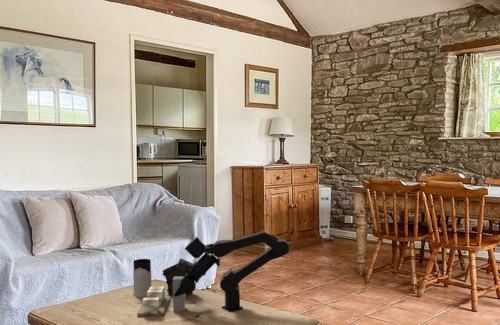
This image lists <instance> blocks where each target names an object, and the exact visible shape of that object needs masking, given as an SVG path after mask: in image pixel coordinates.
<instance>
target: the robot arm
mask: <svg viewBox="0 0 500 325" xmlns="http://www.w3.org/2000/svg"><path fill="white" fill-rule="evenodd" d="M260 243H263V244H265V245H267V246H268V248H267V249H266V250H265V251H263V252H262V253H261V254H259V255H258V256H256V257H255V258H253V259H251V260H250V261H249V262H247V263H245V264H244V265H242V266H241V267H239V268H238V269H233V268H229V269H228V270H227V271H225V272H223V273H222V276H221V277H220V281H219V287H220V289H221V290H222V291H223V292H224V305H222V306H221V309H224V310H226V311H228V312H234V311H235V312H236V311H239V310H242V309H244V306H242V305H241V300H240V299H241V297H240V296H241V295H240V285H239V284H240V283H241V281H242V280H243V279H245V278H247V276H249V275H251V274H252V273H254V272H255V271H257V270H258V269H260V268H261V267H262V266H264V265H266V264H267V263H269V262H270V261H272V260H275V259H280V258H282V257H283V256H286V255H287V254H288V253H289V252H290V245H289V244H288V242H287V241H286V239H284V238H281V237H280V238H278V237H277V236H274V235H272V234H270V233H268V232H267V231H265V230H261V231H259V232H256V233H253V234H249V235H246V236H245V235H244V236H241V237H238V238H235V239H234V238H233V239H220V240H216V241H214V243H208V244H204V243H203V242H202V240H200V238H199V237H198V236H195V238H193V240H191V241H190V242H189V243H188V244H187V245H186V246H185V247H184V250H185V251H186V252H187V253H188V254H189V255H190V256H192V258H194V259H198V260H197V261H194V262H193V263H192V262H190V261H189V260H186V259H183V258H182V257H181V258H179V260H178V262H177V263H178V264H177V263H176V264H177V267H176V268H178V269H181V270H184V271H185V272H186V273H185V272H184V273H183V276H184V277H183V278H182V279H181V281H180V282H181V285H180V287H179V288H178V290H177V291H176V293H175V294H174V296H175V297H177V296H179V295H182V294H184V293H187V292H193V293H194V291H195V290H196V288H197V284H198V283H199V280H201V279H202V277H204V276H206V274H207V272H208V271H210V269H211V268H212V267H213V266H214V265H215V264H216V265H217V267H220V266H221V258H222V257H225V256H227V255H228V254H229V255H230V254H231V253H232V252H234V251H235V250H236V251H237V250H240V249H243V248H246V247H250V246H254V245H258V244H260Z"/></svg>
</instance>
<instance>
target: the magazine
mask: <svg viewBox="0 0 500 325" xmlns="http://www.w3.org/2000/svg"><path fill="white" fill-rule="evenodd" d="M177 264H178V262H177V263H175V264H173V265H171V266H169V267H167V268H165V269H163V270H162V276H163V277H164V278H165V280H166V281H165V284H166V285H167V289H166V291H167V294H168V295H169V296H170V295H172V296H173V278H174V277H175V276H183V273H184V272H185V271H184V270H181V269H178V268H176V267H177ZM185 273H186V272H185ZM193 294H194V291H193V292H187V293H185V296H192V295H193Z"/></svg>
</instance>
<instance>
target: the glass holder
mask: <svg viewBox="0 0 500 325" xmlns="http://www.w3.org/2000/svg"><path fill="white" fill-rule="evenodd" d="M151 264H152V263H151V259H150V258H138V259H135V260H133V272H132V273H133V275H132V276H133V292H132V295H133V297H138V298H146V297H147V292H148V290H149V288H150V287H151V286H152V266H151Z"/></svg>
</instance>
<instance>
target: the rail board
mask: <svg viewBox="0 0 500 325" xmlns="http://www.w3.org/2000/svg"><path fill="white" fill-rule="evenodd" d="M165 289H166V288H165V286H163V285H161V286H160V285H157V286H153V285H151V287H150V288H149V290H148V292H147V296H146V297H142V303H141V304H142V305H141V306H140V308H139V310H138V311H137V315H136V316H137V318H138V317H139V318H140V317H164V315H165V312H166V310H167V308H168V305H169V303H170V301H171V296H166V290H165Z"/></svg>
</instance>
